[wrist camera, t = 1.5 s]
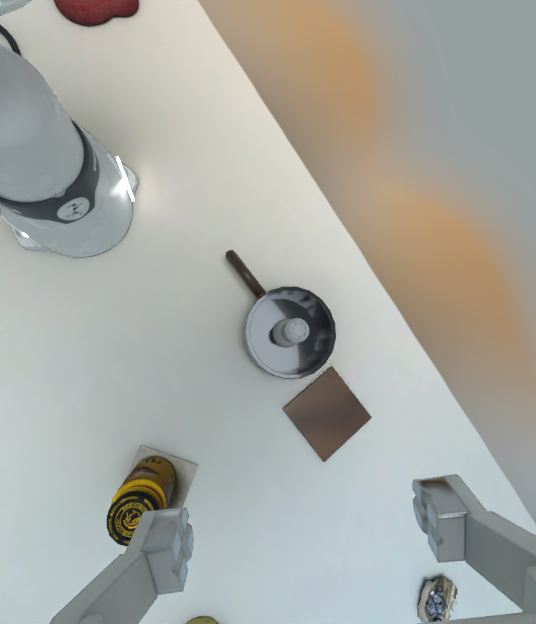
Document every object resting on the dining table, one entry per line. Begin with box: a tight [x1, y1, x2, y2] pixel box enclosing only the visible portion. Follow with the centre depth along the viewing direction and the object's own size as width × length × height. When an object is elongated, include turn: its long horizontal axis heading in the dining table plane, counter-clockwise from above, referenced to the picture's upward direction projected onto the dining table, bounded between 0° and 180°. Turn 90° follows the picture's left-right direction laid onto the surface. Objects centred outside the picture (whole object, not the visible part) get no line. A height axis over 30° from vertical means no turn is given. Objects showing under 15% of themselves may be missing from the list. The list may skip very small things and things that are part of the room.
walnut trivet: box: [283, 367, 372, 462], centre depth 50 cm, size 10×10×1 cm
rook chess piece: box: [273, 318, 309, 348], centre depth 47 cm, size 4×4×8 cm
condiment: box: [107, 446, 198, 546], centre depth 40 cm, size 7×8×12 cm
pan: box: [243, 287, 336, 379], centre depth 49 cm, size 13×13×4 cm
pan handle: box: [225, 250, 266, 299], centre depth 48 cm, size 9×2×2 cm, turn 38°
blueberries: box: [418, 577, 457, 623], centre depth 48 cm, size 7×8×2 cm
